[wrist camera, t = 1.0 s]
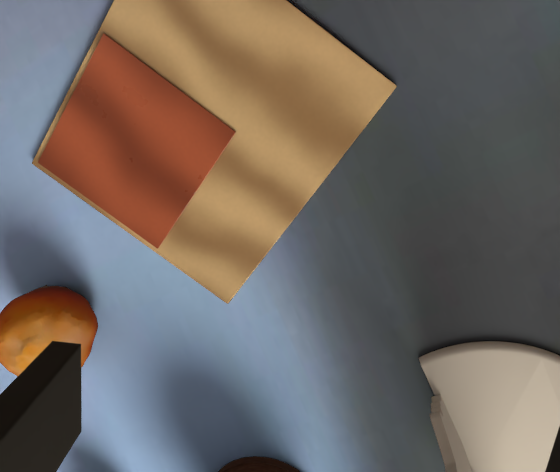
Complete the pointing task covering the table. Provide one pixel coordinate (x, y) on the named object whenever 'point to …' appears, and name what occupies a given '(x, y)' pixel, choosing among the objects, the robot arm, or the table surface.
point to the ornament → (494, 405)
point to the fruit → (44, 325)
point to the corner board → (209, 127)
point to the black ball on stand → (257, 465)
